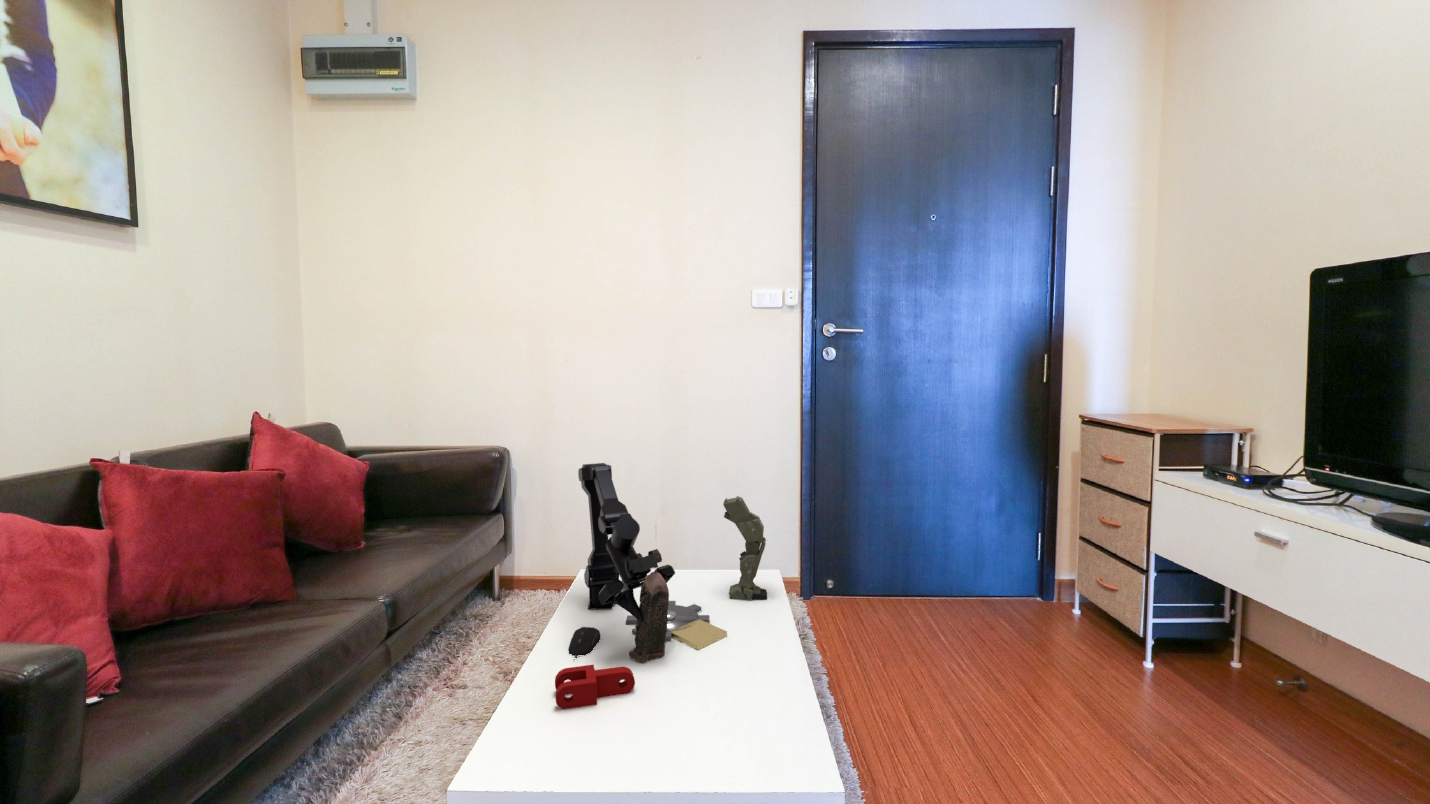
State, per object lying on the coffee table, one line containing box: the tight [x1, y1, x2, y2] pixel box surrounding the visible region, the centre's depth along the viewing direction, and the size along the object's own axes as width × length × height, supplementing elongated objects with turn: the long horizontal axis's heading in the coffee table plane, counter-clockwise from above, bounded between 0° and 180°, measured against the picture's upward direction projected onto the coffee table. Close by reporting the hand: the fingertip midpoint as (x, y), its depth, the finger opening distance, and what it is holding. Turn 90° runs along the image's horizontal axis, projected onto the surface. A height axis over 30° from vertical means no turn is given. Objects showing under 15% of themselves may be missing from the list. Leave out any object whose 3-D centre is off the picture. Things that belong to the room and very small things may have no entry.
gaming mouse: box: [567, 626, 601, 661], centre depth 151 cm, size 6×15×4 cm, turn 175°
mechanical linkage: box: [554, 664, 636, 711], centre depth 130 cm, size 16×7×5 cm, turn 105°
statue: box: [628, 570, 670, 664], centre depth 145 cm, size 7×7×20 cm
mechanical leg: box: [723, 496, 768, 601], centre depth 180 cm, size 14×7×30 cm, turn 84°
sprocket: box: [625, 600, 728, 650], centre depth 162 cm, size 27×21×2 cm
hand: (653, 617), depth 145 cm, fingers closed on statue, 6 cm apart
